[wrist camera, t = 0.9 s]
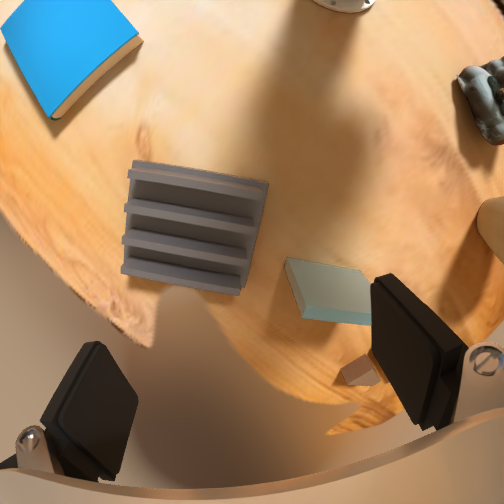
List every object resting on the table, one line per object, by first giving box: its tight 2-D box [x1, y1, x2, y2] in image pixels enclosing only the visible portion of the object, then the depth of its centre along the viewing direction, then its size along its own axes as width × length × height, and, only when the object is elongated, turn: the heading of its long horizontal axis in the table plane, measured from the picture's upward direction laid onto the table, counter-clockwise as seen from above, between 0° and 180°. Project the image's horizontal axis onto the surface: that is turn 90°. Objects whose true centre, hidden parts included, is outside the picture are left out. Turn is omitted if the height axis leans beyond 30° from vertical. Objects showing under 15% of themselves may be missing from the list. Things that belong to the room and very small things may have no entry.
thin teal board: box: [284, 257, 371, 326], centre depth 37 cm, size 2×12×13 cm, turn 78°
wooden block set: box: [341, 354, 381, 386], centre depth 49 cm, size 17×6×18 cm
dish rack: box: [121, 160, 269, 296], centre depth 37 cm, size 15×18×5 cm
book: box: [0, 0, 144, 120], centre depth 25 cm, size 17×4×25 cm
